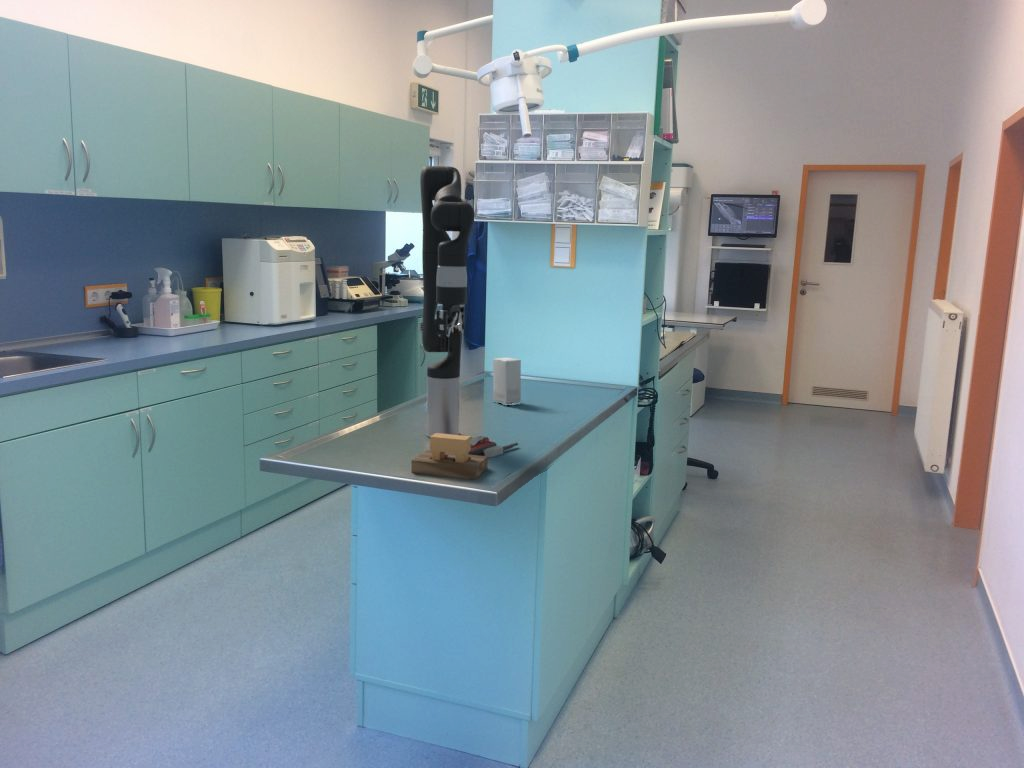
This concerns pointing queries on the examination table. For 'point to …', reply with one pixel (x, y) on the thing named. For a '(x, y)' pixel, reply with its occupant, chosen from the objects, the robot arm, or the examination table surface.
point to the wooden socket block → (450, 465)
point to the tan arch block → (450, 446)
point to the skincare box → (507, 380)
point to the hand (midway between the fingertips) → (450, 349)
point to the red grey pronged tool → (487, 447)
